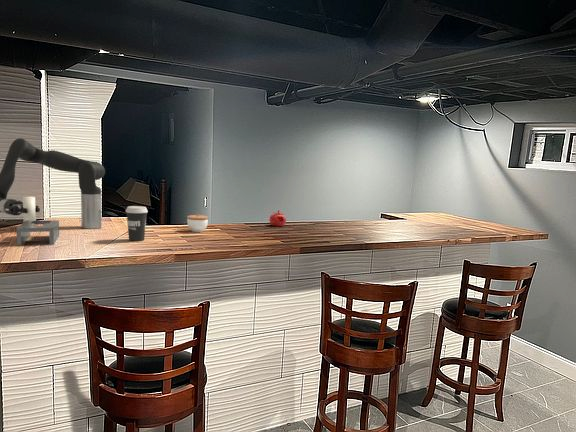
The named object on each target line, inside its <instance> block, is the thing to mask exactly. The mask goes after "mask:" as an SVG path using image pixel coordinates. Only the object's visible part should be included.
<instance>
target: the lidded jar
mask: <svg viewBox="0 0 576 432" xmlns="http://www.w3.org/2000/svg"><path fill="white" fill-rule="evenodd" d="M186 218H187V222H186V223H187V227H188V228H189V230H191V232H193V233H203V232H204V231H205V230H206V229H207V227H208V224H209V216H207V215H201V214H199V213H198V212H197V213H196V214H191V215H187V217H186Z"/></svg>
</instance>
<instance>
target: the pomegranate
mask: <svg viewBox="0 0 576 432" xmlns="http://www.w3.org/2000/svg"><path fill="white" fill-rule="evenodd" d="M286 223H287V219H286V217H285V214H284V213H281V212H280V210H279V209H278V210H277V212H274V213H272V214H271V215H270V216H269V224H270V225H271V226H272V227H278V228H279V227H284V226H285V225H286Z"/></svg>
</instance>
